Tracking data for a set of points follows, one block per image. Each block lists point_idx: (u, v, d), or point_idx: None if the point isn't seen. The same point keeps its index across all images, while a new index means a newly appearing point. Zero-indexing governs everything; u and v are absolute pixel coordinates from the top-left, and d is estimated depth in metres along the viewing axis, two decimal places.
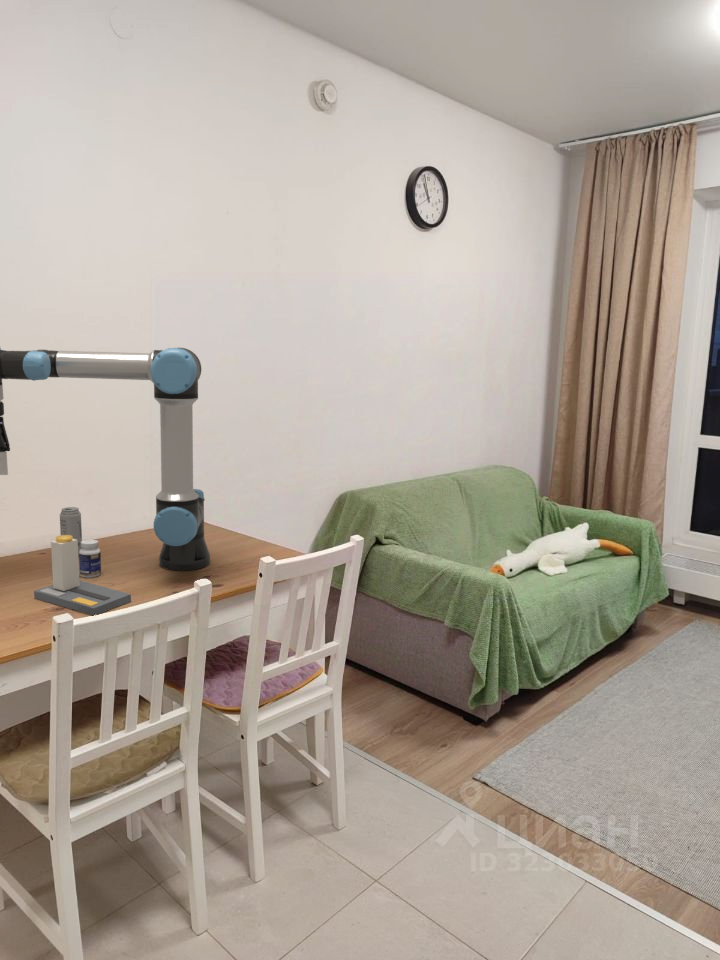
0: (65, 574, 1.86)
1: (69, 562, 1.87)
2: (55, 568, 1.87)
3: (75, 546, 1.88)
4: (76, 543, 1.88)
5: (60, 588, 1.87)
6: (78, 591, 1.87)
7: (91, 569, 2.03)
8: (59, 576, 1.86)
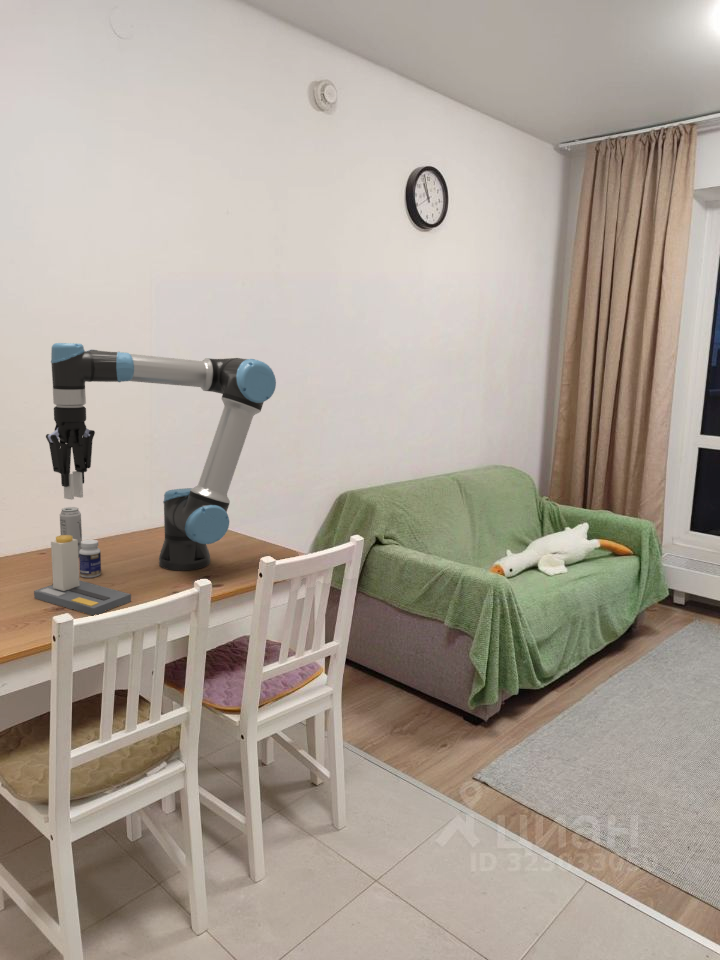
0: (65, 574, 1.86)
1: (69, 562, 1.87)
2: (55, 568, 1.87)
3: (75, 546, 1.88)
4: (76, 543, 1.88)
5: (60, 588, 1.87)
6: (78, 591, 1.87)
7: (91, 569, 2.03)
8: (59, 576, 1.86)
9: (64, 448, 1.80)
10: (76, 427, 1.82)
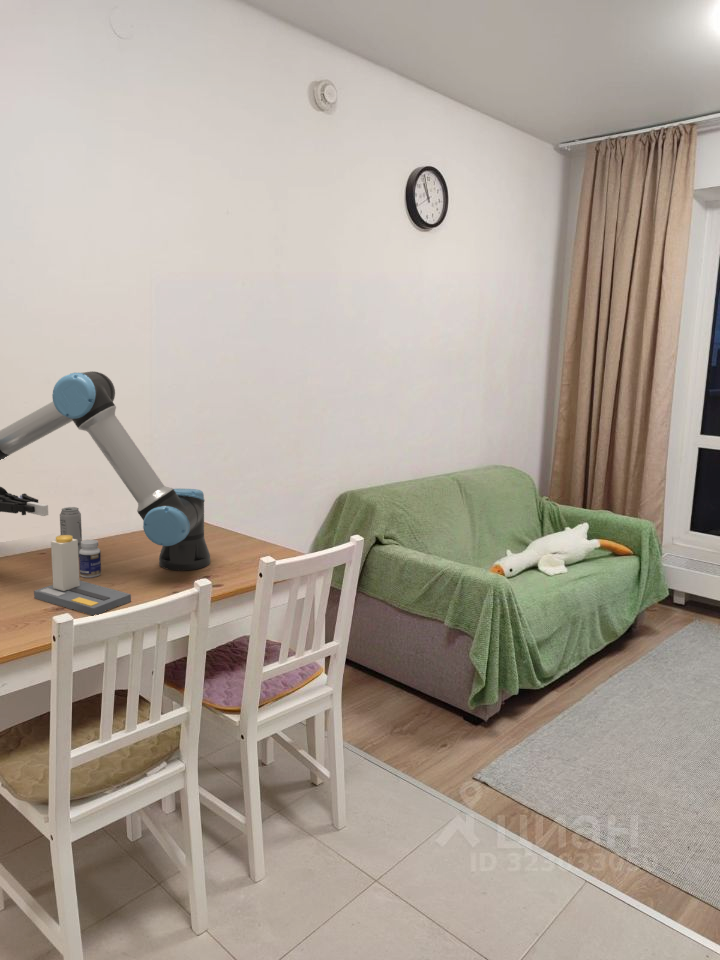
0: (65, 574, 1.86)
1: (69, 562, 1.87)
2: (55, 568, 1.87)
3: (75, 546, 1.88)
4: (76, 543, 1.88)
5: (60, 588, 1.87)
6: (78, 591, 1.87)
7: (91, 569, 2.03)
8: (59, 576, 1.86)
9: None
10: (3, 496, 1.98)
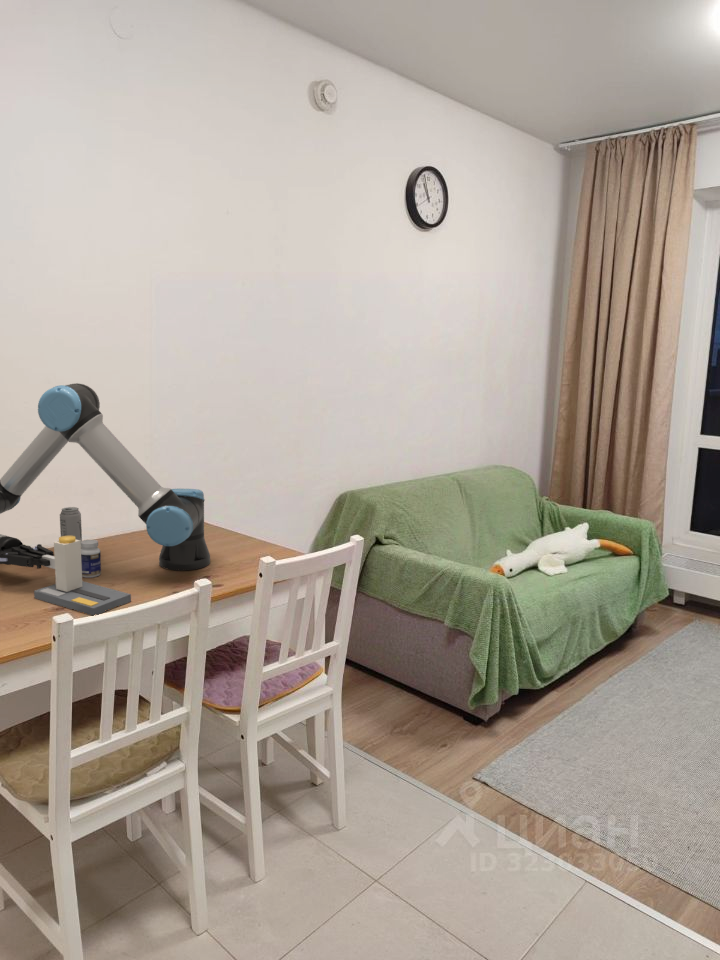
0: (68, 575, 1.86)
1: (72, 563, 1.86)
2: (58, 569, 1.86)
3: (78, 547, 1.88)
4: (79, 544, 1.88)
5: (63, 589, 1.86)
6: (78, 591, 1.87)
7: (91, 569, 2.03)
8: (62, 577, 1.86)
9: None
10: (18, 547, 1.98)
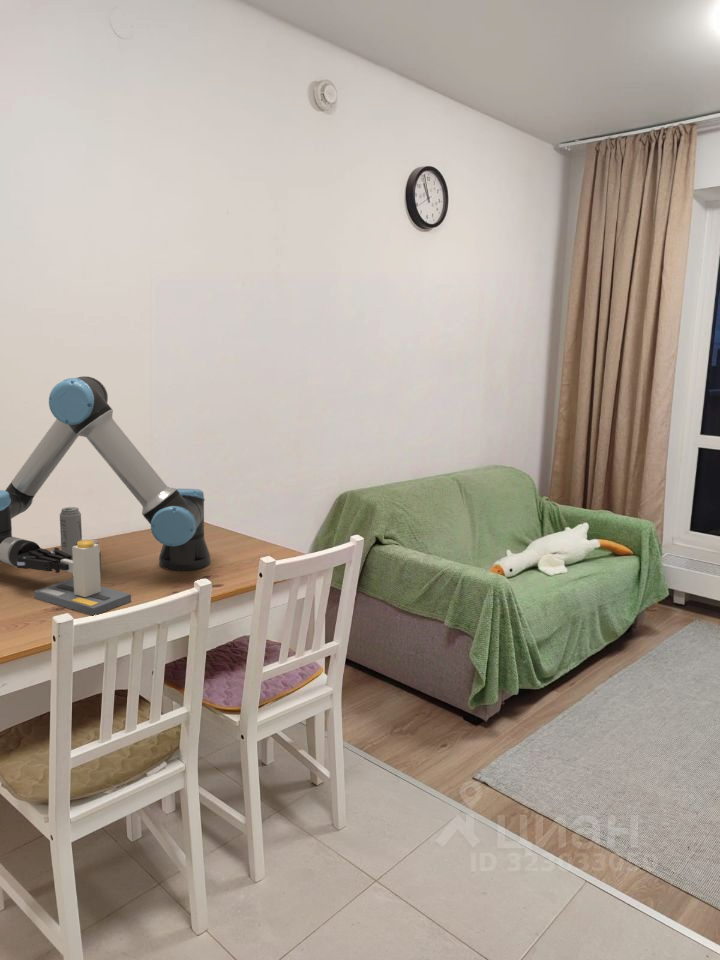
0: (86, 580, 1.82)
1: (90, 568, 1.83)
2: (76, 574, 1.83)
3: (97, 551, 1.84)
4: (97, 548, 1.84)
5: (81, 594, 1.83)
6: None
7: None
8: (81, 582, 1.83)
9: None
10: (35, 551, 1.95)
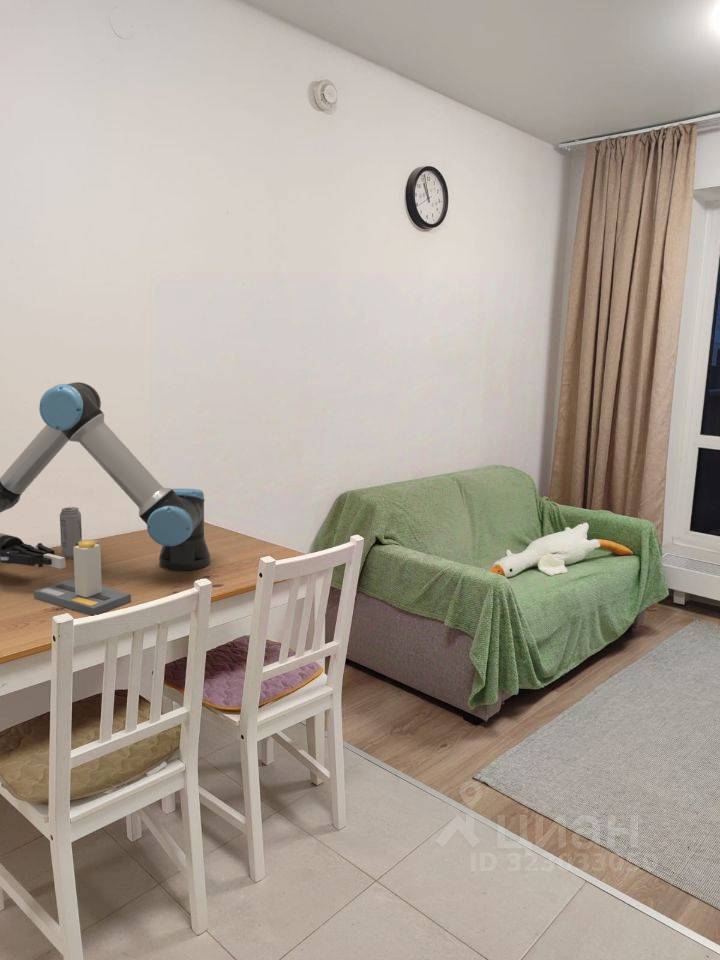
0: (87, 580, 1.82)
1: (92, 568, 1.83)
2: (77, 574, 1.83)
3: (98, 552, 1.84)
4: (99, 548, 1.84)
5: (82, 594, 1.83)
6: None
7: None
8: (82, 582, 1.82)
9: None
10: (18, 546, 1.97)
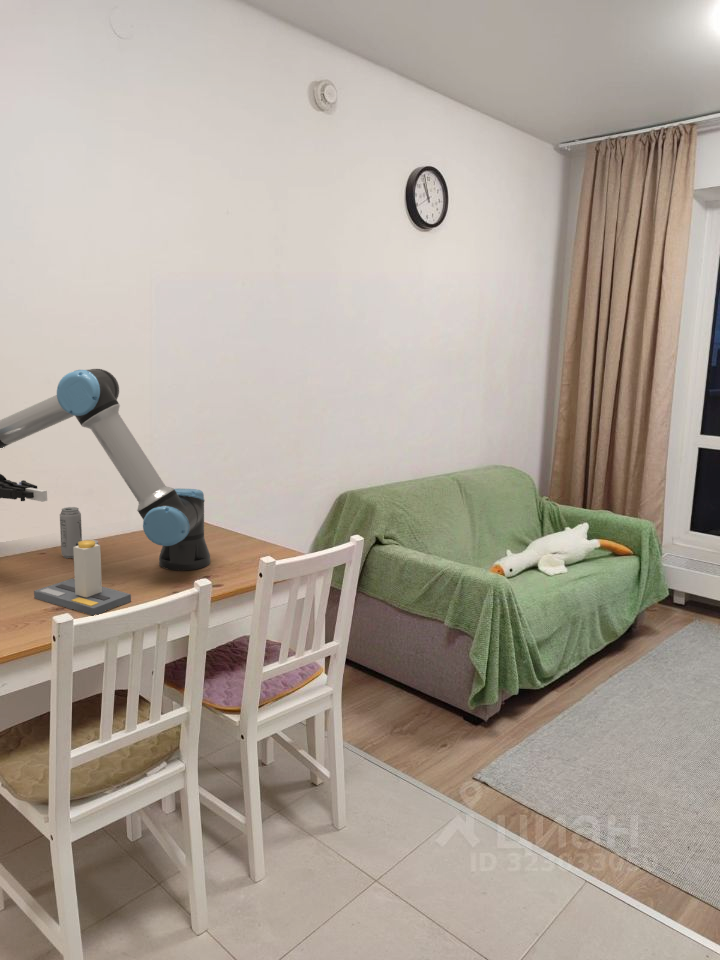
0: (87, 580, 1.82)
1: (92, 568, 1.83)
2: (77, 574, 1.83)
3: (98, 552, 1.84)
4: (99, 548, 1.84)
5: (82, 594, 1.83)
6: None
7: None
8: (82, 582, 1.82)
9: None
10: (2, 482, 1.98)
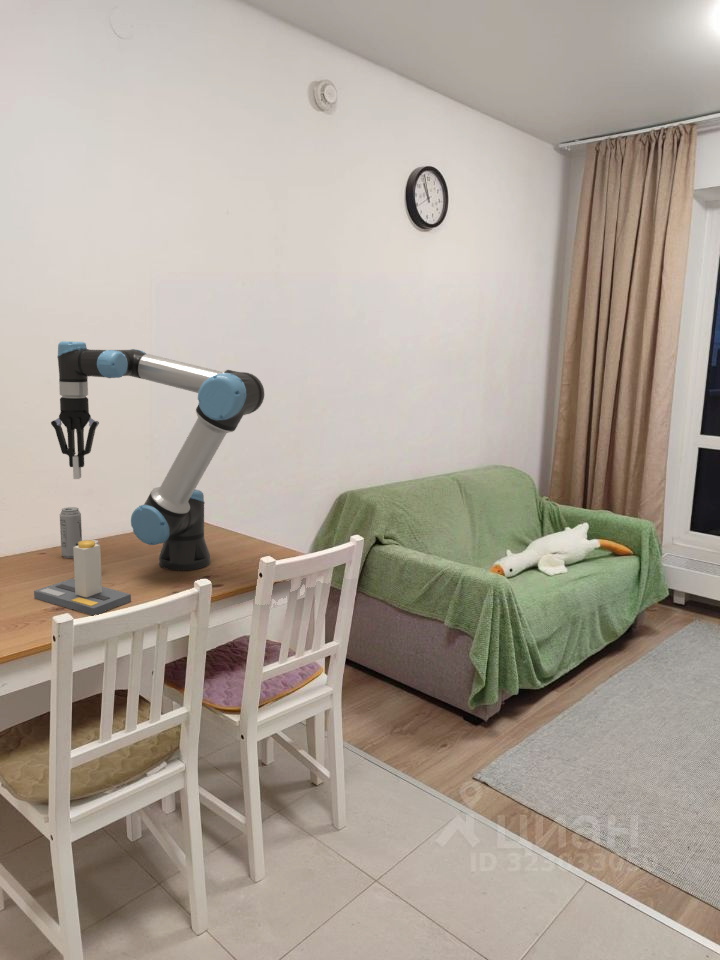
0: (87, 580, 1.82)
1: (92, 568, 1.83)
2: (77, 574, 1.83)
3: (98, 552, 1.84)
4: (99, 548, 1.84)
5: (82, 594, 1.83)
6: None
7: None
8: (82, 582, 1.82)
9: None
10: (76, 415, 2.05)
